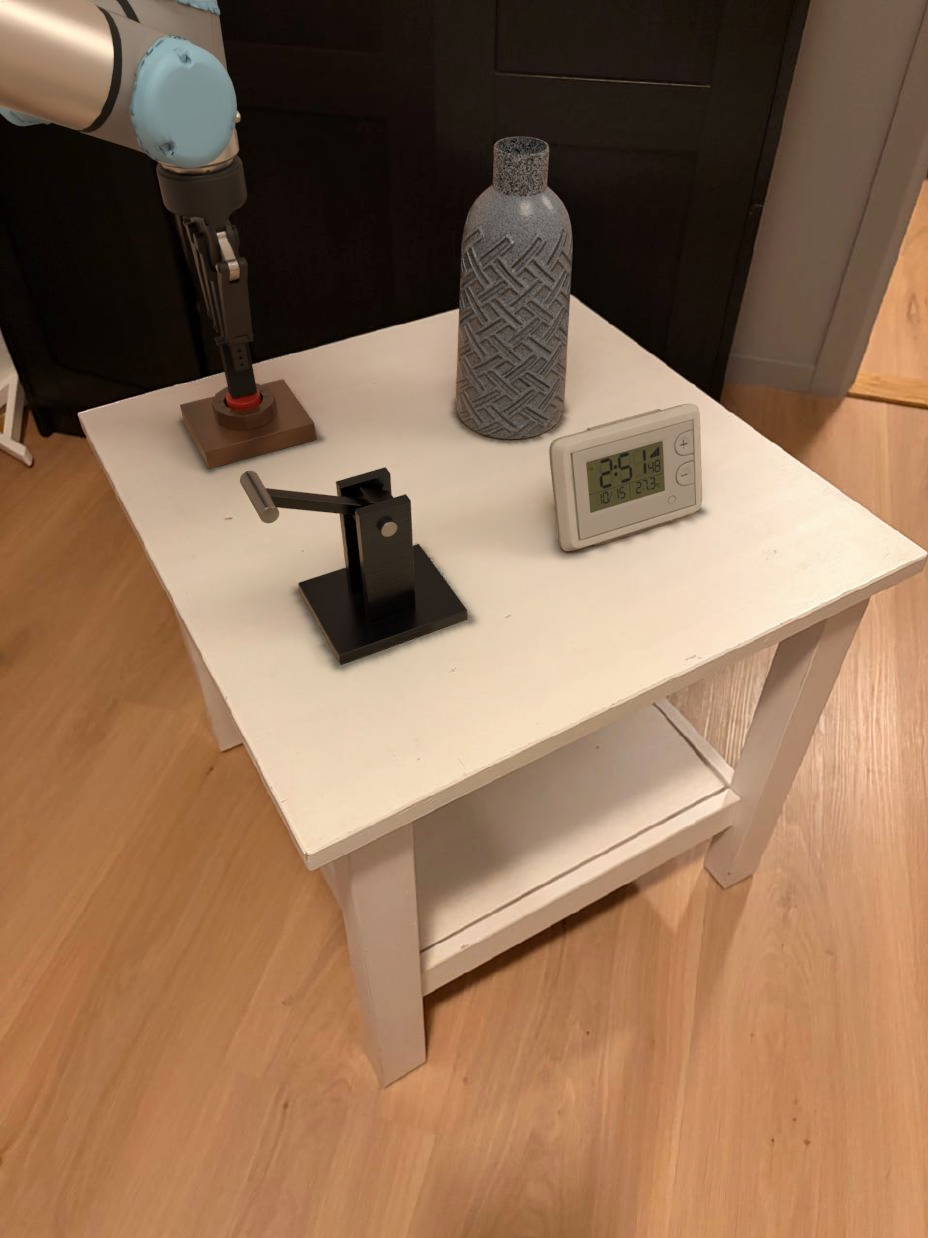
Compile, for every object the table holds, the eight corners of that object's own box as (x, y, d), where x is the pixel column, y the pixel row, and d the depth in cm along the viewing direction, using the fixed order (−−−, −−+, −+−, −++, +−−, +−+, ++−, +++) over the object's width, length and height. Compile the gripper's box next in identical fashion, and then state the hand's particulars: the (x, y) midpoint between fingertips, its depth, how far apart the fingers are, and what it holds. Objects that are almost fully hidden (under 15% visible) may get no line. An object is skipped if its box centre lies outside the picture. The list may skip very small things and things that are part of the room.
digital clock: (555, 560, 87) (565, 467, 79) (529, 502, 93) (535, 411, 86) (715, 535, 90) (739, 443, 82) (679, 480, 96) (698, 390, 88)
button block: (208, 469, 97) (201, 437, 94) (183, 421, 103) (175, 389, 100) (316, 439, 101) (312, 407, 98) (286, 395, 107) (281, 364, 104)
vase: (581, 428, 103) (611, 159, 82) (480, 451, 99) (486, 177, 79) (535, 374, 110) (552, 117, 90) (440, 394, 107) (436, 132, 87)
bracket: (340, 665, 78) (324, 549, 68) (299, 592, 84) (280, 477, 75) (467, 619, 81) (468, 504, 72) (419, 552, 88) (414, 439, 79)
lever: (256, 528, 67) (265, 500, 66) (235, 490, 71) (244, 463, 69) (396, 539, 75) (407, 515, 74) (371, 505, 78) (381, 481, 77)
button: (234, 421, 98) (231, 406, 97) (224, 404, 101) (221, 390, 99) (266, 412, 99) (264, 398, 98) (256, 396, 102) (253, 382, 100)
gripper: (262, 175, 79) (297, 413, 96) (218, 129, 87) (257, 356, 104) (175, 191, 77) (226, 432, 93) (138, 141, 85) (191, 371, 102)
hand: (242, 391), depth 99 cm, fingers closed
